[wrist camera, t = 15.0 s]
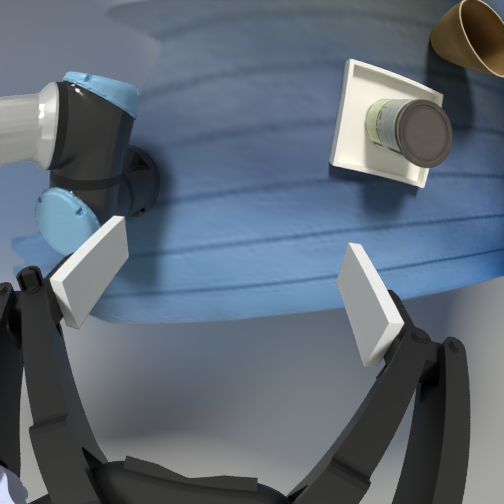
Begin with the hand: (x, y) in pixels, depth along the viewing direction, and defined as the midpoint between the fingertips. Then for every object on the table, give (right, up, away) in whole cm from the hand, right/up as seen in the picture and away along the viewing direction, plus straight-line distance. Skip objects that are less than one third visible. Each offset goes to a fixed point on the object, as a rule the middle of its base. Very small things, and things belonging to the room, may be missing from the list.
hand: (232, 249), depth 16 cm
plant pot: (+40, +42, +17) cm, 61 cm away
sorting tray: (+26, +24, +27) cm, 45 cm away
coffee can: (+26, +23, +27) cm, 44 cm away
